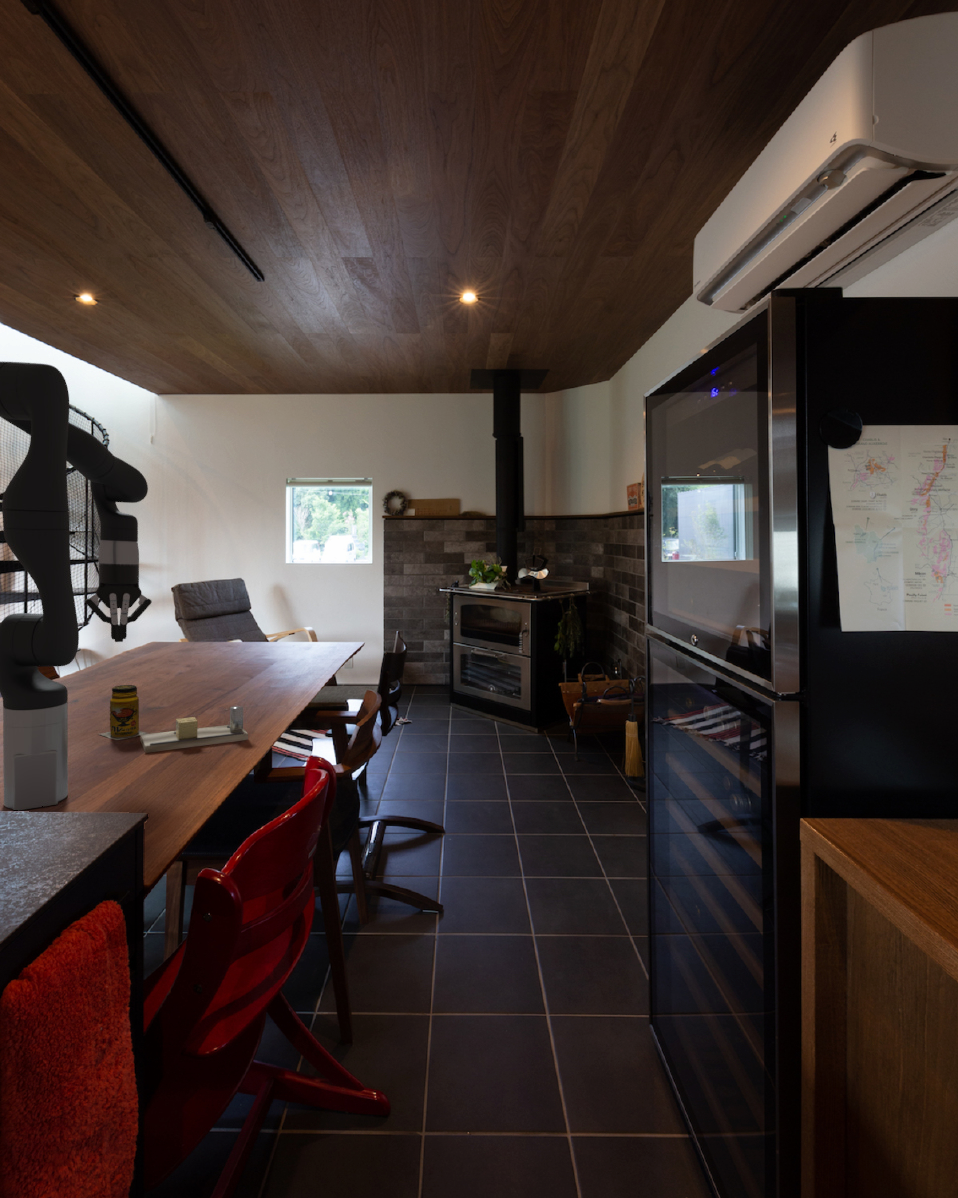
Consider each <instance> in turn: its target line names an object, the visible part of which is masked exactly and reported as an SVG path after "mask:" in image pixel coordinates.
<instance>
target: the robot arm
mask: <svg viewBox="0 0 958 1198" xmlns="http://www.w3.org/2000/svg"><path fill="white" fill-rule="evenodd" d="M0 418H1V419H3V420H4V421H6V422H8V423H9V424H11V425H13V426H15V427H16V428H18V429H20V430H21V431H22V432H24V433H26V434H28V435H29V436H30V442H29V447H28V450H27V453H26V456H25V458H24V459H23V461H22V463H21V464H20V466H19V467H18V469H17V470H16V472H15V473H14V475H13V477H12V478H11V480H10V481H9V483H8V484H7V486H6V488H5V491H4V493H3V495H2V499H1V508H2V510H1V513H2V526H3V528H2V529H3V530H2V531H3V536H4V539H5V542H6V544H7V546H8V548H9V549H10V551H11V553H12V554H13V555H14V557H15V558H16V559H17V561H18V562H19V563H20V565H22V567H23V568H24V570H25V571H26V572H27V574H28V575H29V576H30V578H31V579H32V581H33V583H34V584H35V586H36V588H37V590H38V594H39V597H40V603H41V607H42V608H41V609H42V613H32V612H31V613H23V612H20V613H17V612H16V613H11V614H9V615H7V616H6V617H4V618H3V620H1V622H0V695H1V698H2V714H3V715H2V730H3V731H2V737H3V738H2V742H3V743H2V747H3V750H2V751H3V752H2V753H3V755H2V756H3V760H2V761H3V767H2V768H3V770H2V771H3V805H4V807H6V808H7V809H11V810H12V811H13V810H18V811H23V810H24V811H25V810H29V809H37V808H43V807H48V806H54V805H55V806H56V805H58V803H59V802H60V801H63V800H64V799H66V798H67V796H68V795H69V794H68V793H69V788H68V787H69V786H68V782H69V778H68V777H69V774H68V773H69V771H68V770H69V769H68V767H69V764H68V763H69V762H68V756H69V754H68V752H69V751H68V750H69V747H68V746H69V745H68V743H69V741H68V739H69V738H68V732H69V731H68V729H69V727H68V725H69V724H68V720H69V719H68V716H69V714H68V712H69V711H68V709H69V706H68V705H69V704H68V703H69V701H68V699H69V697H68V696H69V695H68V688H67V686H66V685H64V684H63V683H60V682H57V681H54V680H52V679H50V678H49V677H46V676H45V675H44V674H43V673H41V672H40V670H39V667H65V666H68V665H69V664H71V663H72V662H73V660H74V659H75V658H76V656H77V654H78V649H79V640H80V639H79V638H80V635H79V625H78V616H77V610H76V601H75V595H74V588H73V580H72V570H71V569H72V567H71V564H72V563H71V546H70V545H71V542H70V541H71V531H70V527H71V526H70V512H69V511H70V506H69V495H68V494H69V493H68V477H67V476H68V473H67V472H68V471H67V468H68V467H67V466H68V464H70V466H71V467H73V468H74V469H75V470H76V471H77V472H79V474H81V475H82V476H83V477H84V478H85V479H87V480H88V481H90V491H91V494H92V498H93V501H94V504H95V507H96V511H97V515H98V519H99V523H100V527H99V528H100V529H99V533H100V534H99V537H100V539H99V548H98V558H97V559H98V587H97V589H96V591H95V594H94V595H92V596H91V597H88V598H86V599H85V600H84V602H85V604H86V606H88V607H89V608H90V610H91V611H92V612H94V614H95V615H96V616H97V617H98V618H99V619H100V620H101V621H102V622H104V623H107V624H109V625H110V637H111V639H112V640H114V642H115V643H122V642H123V641H124V640H126V639H127V635H128V634H127V628H128V627H127V625H128V624H129V623H132V622H133V623H134V622H136V621H137V620H138V619H139V617H140V616H142V614H143V613H144V612H145V611H146V610H147V609H148V608H149V606H150V605H151V604H152V599H150V598H147V597H146V596H145V595H144V594H142V590H141V588H140V551H139V543H138V542H139V537H138V536H139V531H138V530H139V526H138V525H139V522H138V518H137V517H136V516H134V515H132V514H130V513H125V512H122V511H120V509H119V508H118V506H117V505H118V504H117V503H123V504H124V503H129V504H133V503H134V504H135V503H140V502H141V501H143V500H144V499H145V498H146V497H147V495H148V491H149V485H148V482H147V480H146V477H145V476H144V475H143V473H141V471H140V470H138V469H137V468H136V467H134V466H133V465H132V464H130V463H128V462H127V461H124V460H123V459H121V458H119V457H117V456H116V455H114V454H113V453H112V452H111V451H110V450H109V449H108V448H107V447H106V446H105V445H104V443H102V442H101V441H100V440H99V439H98V438H97V437H96V436H94V435H93V434H91V433H89V432H88V431H87V430H85V429H83V428H81V427H79V426H77V425H75V424H73V423H71V422H70V394H69V389H68V385H67V381H66V379H65V377H64V375H63V374H62V372H61V371H60V370H59V369H58V368H57V367H55V366H54V365H51V364H48V363H40V362H39V363H38V362H24V361H23V362H22V361H0ZM67 463H68V464H67ZM99 600H100V601H101V602H102V603H103V605H104V606H105V607H106V608H108V609H109V613H110V616H107V615H106V614H105V613H104V612H103V610H102V609H101V608H100V607H99V604H100V601H99ZM137 601H138V603H137V604H138V606H137V608H135V610H134V611H133V612H132V613H131V614H130V615H129V609H130V608H132V607H133V605H134V604H136V602H137ZM118 609H120V615H119V614H118ZM118 615H119V618H118ZM128 615H129V616H128ZM123 643H124V642H123ZM42 806H43V807H42Z"/></svg>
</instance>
